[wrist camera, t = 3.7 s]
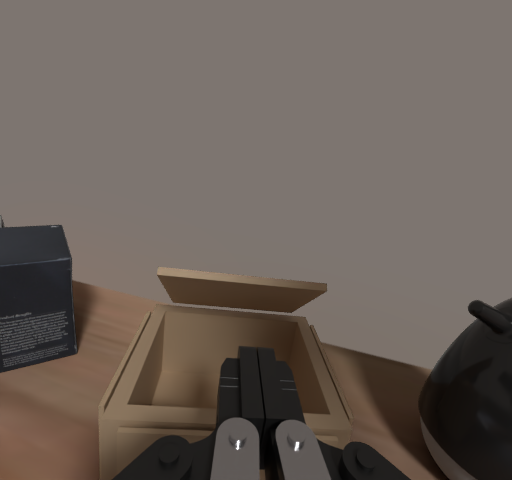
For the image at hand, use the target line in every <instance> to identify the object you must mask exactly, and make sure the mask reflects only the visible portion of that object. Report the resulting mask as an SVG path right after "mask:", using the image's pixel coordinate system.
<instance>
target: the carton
mask: <svg viewBox="0 0 512 480" xmlns="http://www.w3.org/2000/svg"><path fill="white" fill-rule="evenodd" d="M239 346H248V347H264V348H273V349H274V352H275V357H276V361H285V362H286V363H287V365H288V366H289V367H290V369H291V370H292V373H293V377H294V382H295V384H296V388H297V392H298V396H299V400H300V403H301V407H302V411H303V415H304V419H305V422H306V425H307V426H308V427H309V428H310V429H311V430H312V431H313V432H314V434H315V436H316V438H317V439H319V440H320V441H322V442H323V443H326V444H328V445H331V446H334V447H336V448H339V449H342V450H343V449H344V447H345V446H346V445H347V444H348V443H349V440H350V437H351V433H352V428H351V427H352V423H353V420H354V417H353V415H352V412H351V410H350V408H349V406H348V403H347V401H346V399H345V397H344V394H343V392H342V390H341V387H340V385H339V383H338V381H337V378H336V376H335V374H334V372H333V369H332V367H331V365H330V363H329V360H328V358H327V356H326V353H325V351H324V349H323V347H322V344H321V342H320V340H319V338H318V336H317V333H316V331H315V329H314V326H313V325H310V327H309V325H308V322H307V320H306V318H305V317H298V316H287V315H275V314H263V313H252V312H239V311H229V310H217V309H205V308H192V307H182V306H171V305H159V304H156V306H155V308H154V311H153V313H152V315H151V312H147V313H146V315H145V317H144V319H143V321H142V323H141V325H140V326H139V328H138V330H137V332H136V334H135V336H134V338H133V340H132V342H131V344H130V346H129V348H128V350H127V352H126V354H125V356H124V357H123V359H122V361H121V363H120V365H119V367H118V369H117V371H116V373H115V375H114V377H113V379H112V381H111V383H110V385H109V386H108V388H107V390H106V392H105V394H104V396H103V398H102V400H101V402H100V404H99V406H98V408H99V465H100V480H112V479H113V478H114V477H115V476H116V475H117V474H119V473H120V472H121V471H122V470H123V469H124V468H125V467H126V466H128V465H129V464H130V463H131V462H132V461H133V460H134V459H135V458H137V457H138V456H139V455H140V454H141V453H142V452H143V451H145V450H146V449H147V448H148V447H149V446H150V445H151V444H152V443H154V442H155V441H156V440H158V439H159V438H161V437H164V436H168V435H177V436H181V437H183V438H185V439H186V440H187V441H188V442H189V443H193V442H197V441H200V440H202V439H204V438H206V437H208V436H209V435H210V434H211V433H212V432H213V431H214V430H215V428H216V411H217V394H218V386H219V378H220V370H221V365H222V364H223V362H224V361H225V359H226V358H237V355H238V348H239ZM259 475H260V480H266V479H265V470H259Z"/></svg>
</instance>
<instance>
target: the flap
mask: <svg viewBox="0 0 512 480" xmlns="http://www.w3.org/2000/svg"><path fill="white" fill-rule="evenodd" d="M157 276H158V277H159V279H160V281H161V283H162V284H163V285H164V288H165V289H166V291H167V293H168V294H169V296H170V298H171V300H172V301H173V302H174V303H185V304H195V305H207V306H219V307H230V308H241V309H254V310H264V311H276V312H287V313H292V312H293V311H295V310H297V309H298V308H300V307H301V306H303V305H305V304H306V303H308V302H310V301H311V300H313V299H315V298H316V297H318V296H320V295H321V294H323V293H325V292H326V291H327V284H324V283H314V282H304V281H294V280H283V279H273V278H262V277H254V276H244V275H234V274H224V273H214V272H203V271H193V270H183V269H173V268H163V267H158V272H157Z"/></svg>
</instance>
